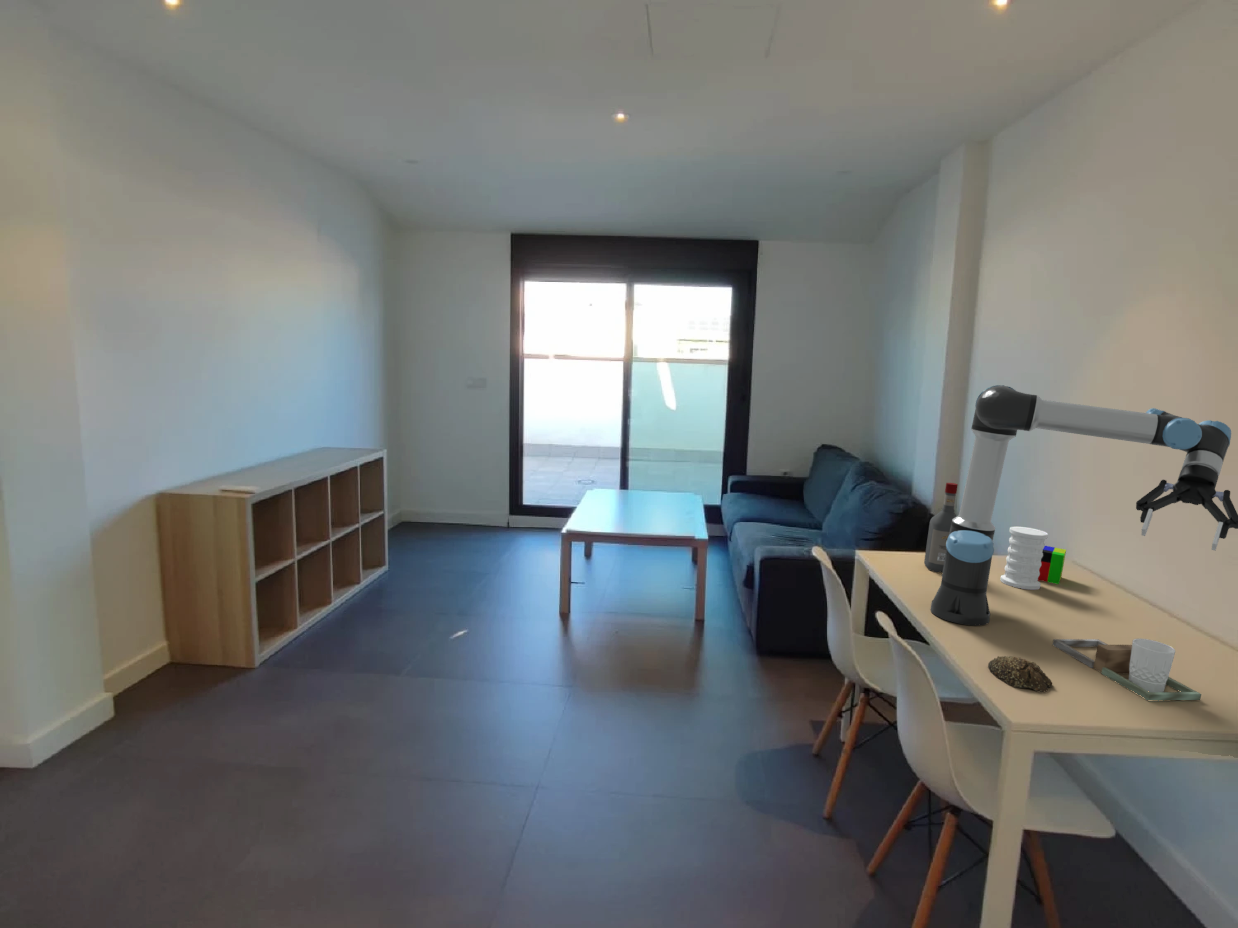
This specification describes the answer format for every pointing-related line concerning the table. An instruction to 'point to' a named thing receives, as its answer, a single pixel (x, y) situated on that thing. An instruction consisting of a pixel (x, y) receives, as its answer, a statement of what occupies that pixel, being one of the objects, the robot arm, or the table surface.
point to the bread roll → (1019, 673)
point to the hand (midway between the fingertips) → (1177, 539)
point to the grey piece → (1121, 667)
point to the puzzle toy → (1052, 564)
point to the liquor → (940, 531)
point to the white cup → (1150, 664)
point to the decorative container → (1024, 558)
